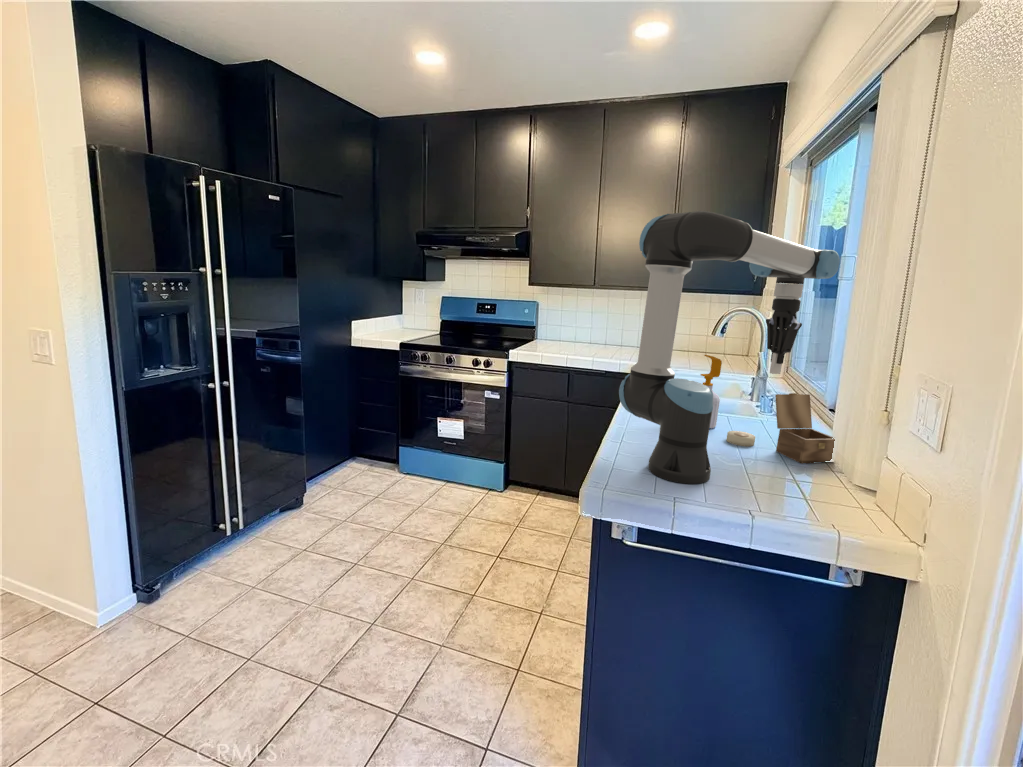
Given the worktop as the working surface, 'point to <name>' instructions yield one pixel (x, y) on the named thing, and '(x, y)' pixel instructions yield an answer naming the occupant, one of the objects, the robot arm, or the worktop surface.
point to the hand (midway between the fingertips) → (774, 373)
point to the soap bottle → (716, 400)
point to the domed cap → (740, 438)
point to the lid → (793, 411)
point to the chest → (805, 445)
